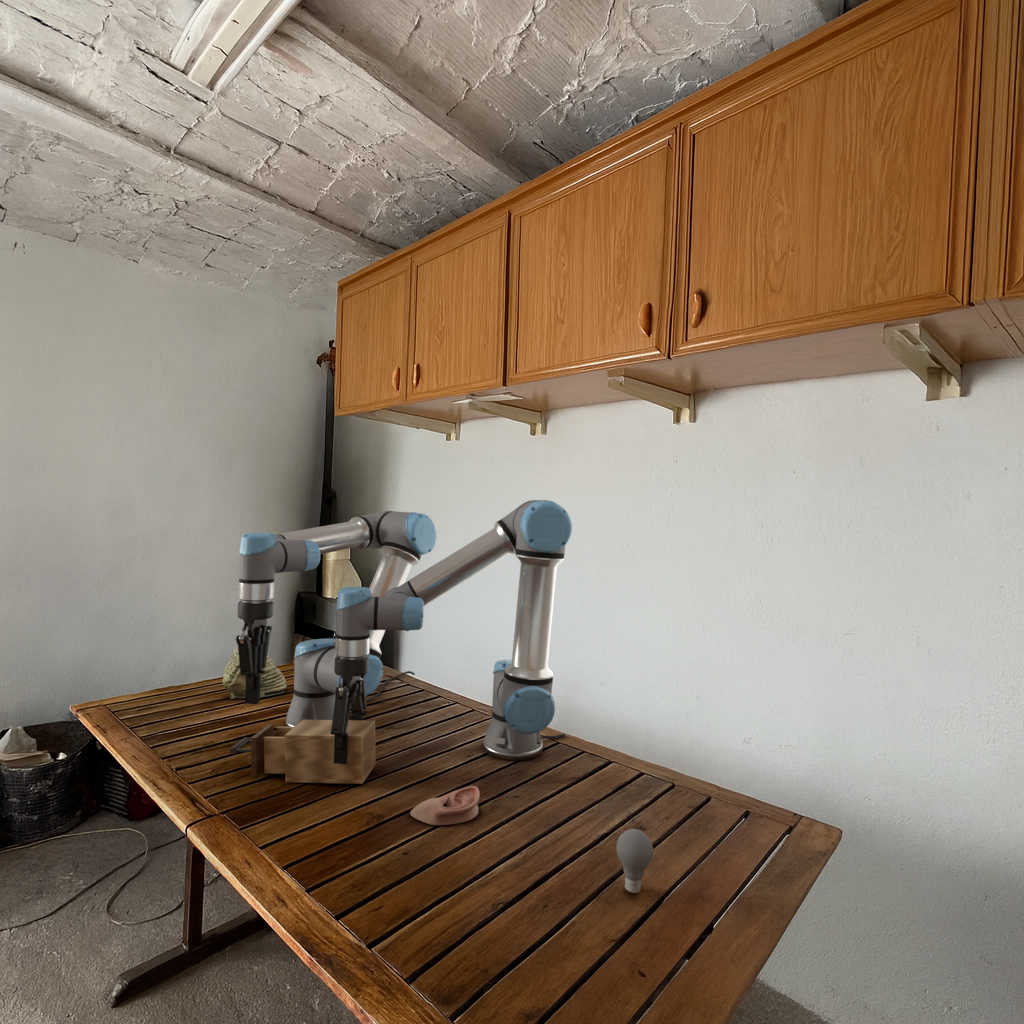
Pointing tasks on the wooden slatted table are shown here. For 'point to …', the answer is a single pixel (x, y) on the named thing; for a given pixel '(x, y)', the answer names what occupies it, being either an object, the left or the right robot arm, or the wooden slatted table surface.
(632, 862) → the light bulb
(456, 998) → the wooden slatted table surface
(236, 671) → the fossil
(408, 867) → the wooden slatted table surface
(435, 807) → the anatomical model
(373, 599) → the right robot arm
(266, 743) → the drawer
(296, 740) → the cabinet
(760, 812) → the wooden slatted table surface
